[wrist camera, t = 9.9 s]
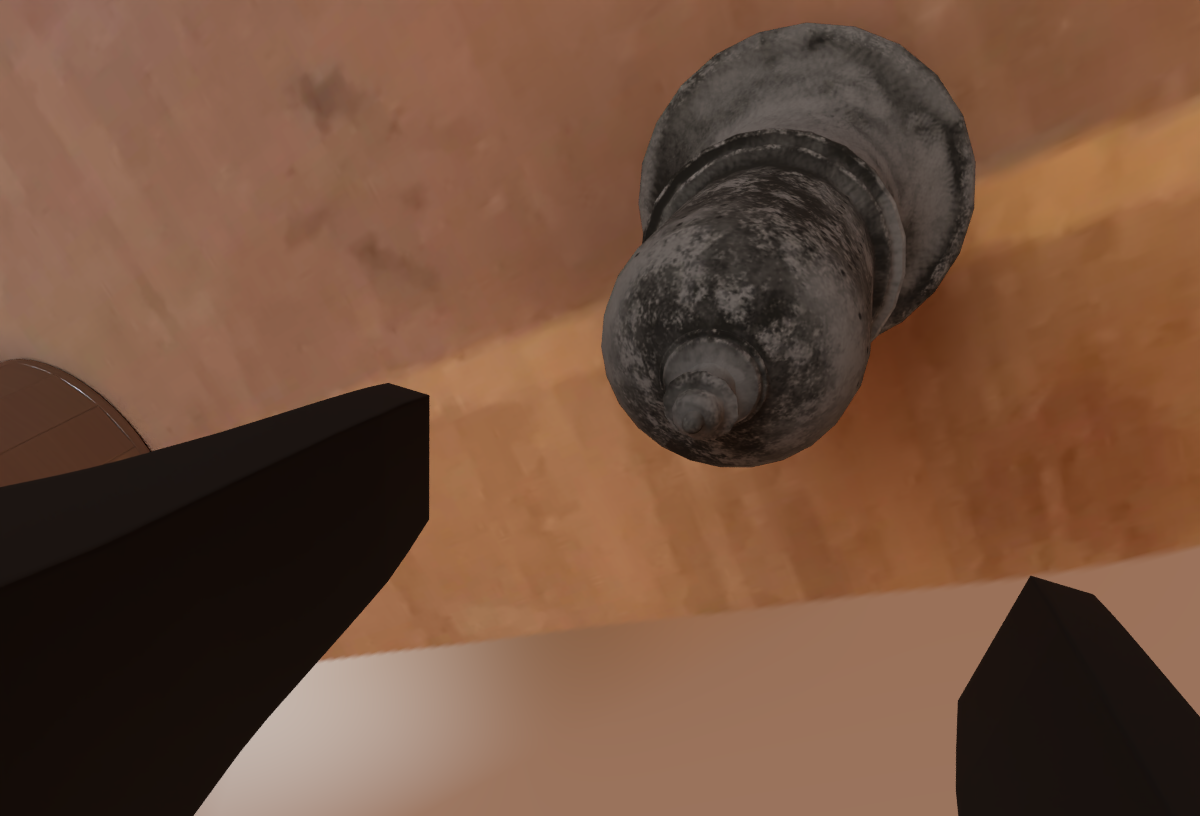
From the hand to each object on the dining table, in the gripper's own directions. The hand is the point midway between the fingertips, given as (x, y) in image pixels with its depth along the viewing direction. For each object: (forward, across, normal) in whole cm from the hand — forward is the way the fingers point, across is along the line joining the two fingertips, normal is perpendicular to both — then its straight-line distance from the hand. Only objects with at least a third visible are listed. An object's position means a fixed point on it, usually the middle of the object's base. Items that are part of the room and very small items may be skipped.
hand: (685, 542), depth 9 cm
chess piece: (+11, 0, -3) cm, 11 cm away
